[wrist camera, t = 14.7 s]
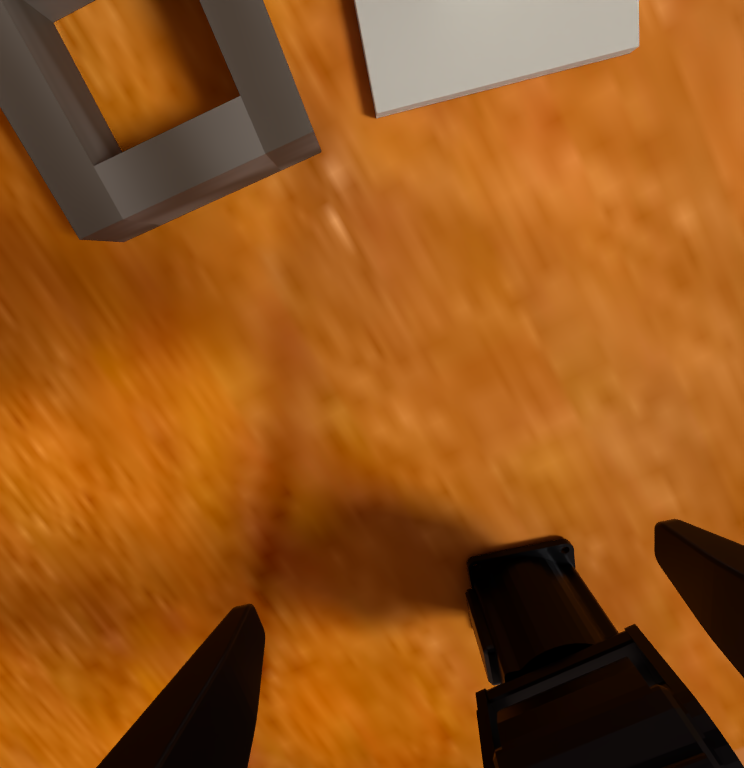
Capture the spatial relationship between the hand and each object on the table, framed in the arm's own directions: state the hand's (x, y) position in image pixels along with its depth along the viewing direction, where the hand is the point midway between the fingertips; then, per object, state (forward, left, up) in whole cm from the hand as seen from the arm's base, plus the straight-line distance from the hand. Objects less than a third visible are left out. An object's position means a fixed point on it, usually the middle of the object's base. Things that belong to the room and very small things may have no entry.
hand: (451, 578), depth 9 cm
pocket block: (+7, -16, -13) cm, 22 cm away
